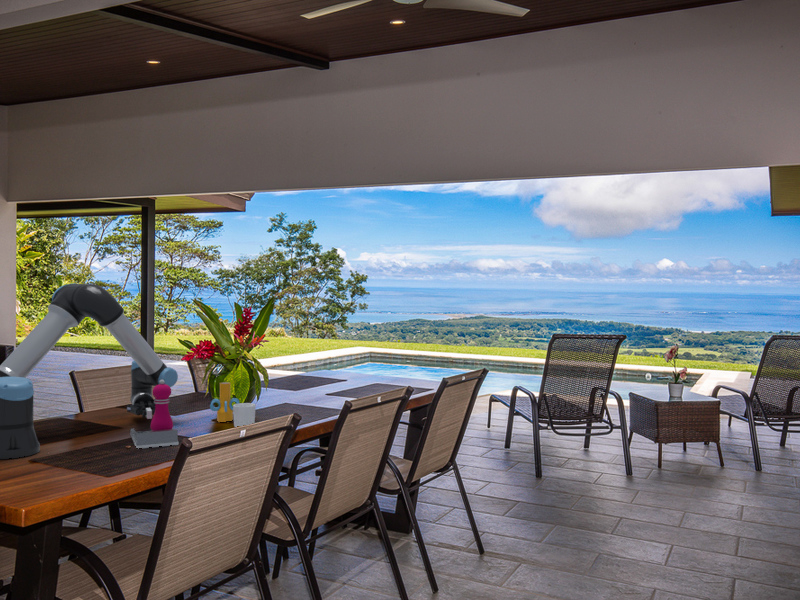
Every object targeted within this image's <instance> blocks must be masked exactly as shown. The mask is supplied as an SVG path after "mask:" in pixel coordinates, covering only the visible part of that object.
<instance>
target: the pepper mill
mask: <svg viewBox="0 0 800 600" xmlns="http://www.w3.org/2000/svg"><path fill="white" fill-rule="evenodd" d="M159 383H160V384H159V385H156V386H153V387H152V397H153V399H154V403H155V406H156V408H155V413H154V415H152V419H151V422H150V431H151V430H152V431H157V430H169V429H174V428H173V427H174V422H173V419H172V417H171V414H170V410H169V403H170V402H171V401H170V400H171V398H170V396H171V394H172V387H169V386H168V385H166V384H164V383H165V381H164V380H160V381H159Z"/></svg>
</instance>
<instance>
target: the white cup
mask: <svg viewBox="0 0 800 600" xmlns="http://www.w3.org/2000/svg"><path fill="white" fill-rule="evenodd" d="M232 406H233V426H234V427H237V426H243V425H249V424H252V423H254V424H255V423H256V422H255V421H256V404H255V403H252V402H251V403H250V402H242V403H240V402H239V404H237V403H235V404H233V405H232Z"/></svg>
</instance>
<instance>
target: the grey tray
mask: <svg viewBox="0 0 800 600" xmlns="http://www.w3.org/2000/svg"><path fill="white" fill-rule="evenodd" d="M178 434H179V433H178V429H177V428H172V429H169V430H157V431H152V430H151V429H150V430H142V431H141V430H140V431H136V429H135V428H130V435H129V436H130V437H131V440H132V442H133V444H134V447H135V446H136V447H135V449H136V448H138V449H137V450H139V448H142V449H150V448H149V447H152V448H159V446H162V447H169V446H170V445H172V446H179V440H178V438H179V435H178Z"/></svg>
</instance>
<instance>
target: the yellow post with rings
mask: <svg viewBox="0 0 800 600" xmlns="http://www.w3.org/2000/svg"><path fill="white" fill-rule="evenodd" d="M233 402H234V403H235V404H239V403H240V400H239V398H236V397H232V398H231V382H226V381H225V382H223V381H222V382H219V399H218V398H213V399H212V400H211V401H210V405H209V408H210V410H211V411H212V412H216V417H217V418H216V421H218V422H217V423H220V422H226V421H232V420H233V421H234V415H233V405H232V404H233ZM214 403H217V404H218V406H217V407H215V405H214ZM233 421H232V422H233Z"/></svg>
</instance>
